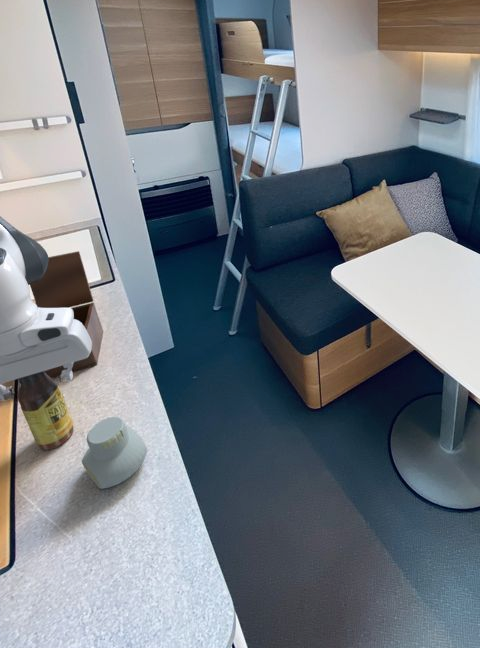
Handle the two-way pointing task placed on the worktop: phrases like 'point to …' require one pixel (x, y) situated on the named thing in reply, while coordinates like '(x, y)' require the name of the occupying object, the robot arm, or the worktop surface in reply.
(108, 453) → the air freshener
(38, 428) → the sauce bottle
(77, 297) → the bin lid
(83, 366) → the bin
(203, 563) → the worktop surface
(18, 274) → the robot arm
